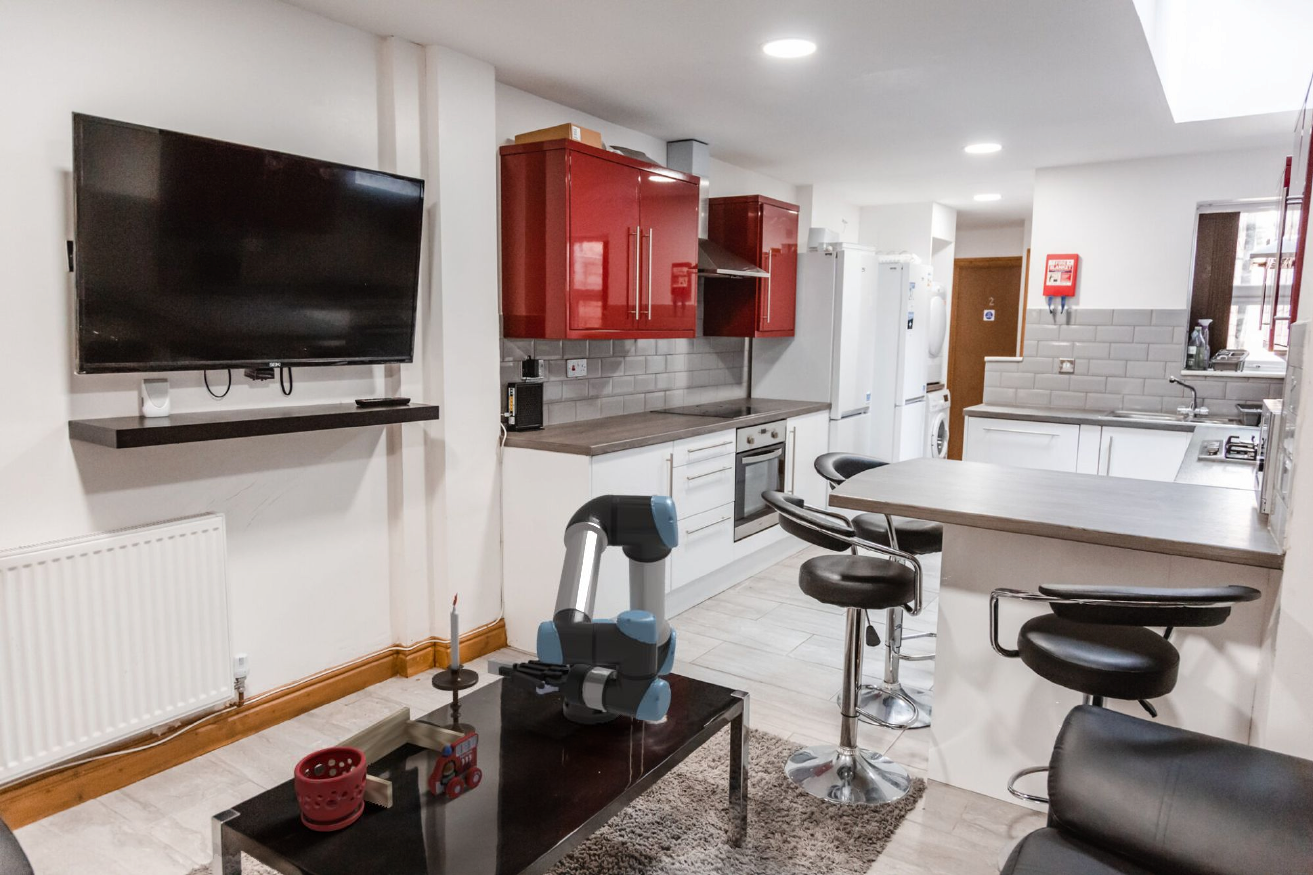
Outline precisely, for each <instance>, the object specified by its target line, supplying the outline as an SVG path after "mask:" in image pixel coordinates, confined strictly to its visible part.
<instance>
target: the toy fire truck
mask: <svg viewBox="0 0 1313 875" xmlns="http://www.w3.org/2000/svg"><path fill="white" fill-rule="evenodd" d="M478 744H479V733H476V732H475V733H474V732H471V733H469V734H468V735H466V736H464V737H462V738H460V739H459V740H457V741H455V742H453V743H452V744H451V745H450V747H449V746H445V747H444V748H443V749H442V752H441V755H440V756H438V757H437V759H436V760H435V765H434V766H433V770H432V773H430V775H429V777H428V782H427V787H428V788H429V789H430V792H431V793H432V794H433V795H435V796H440V794H442V793H443V792H445V794H446V797H448V798H450V799H453V800H455V799H457V798H459V797H460V796H461V795H462V794H463V791H464V788H465V786H466V787H468V788H470V789H475V788H476V787H478V786H479V784H480V783H481V781H482V778H483V772H482V770H481V769H480V768H479V767H478Z"/></svg>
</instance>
